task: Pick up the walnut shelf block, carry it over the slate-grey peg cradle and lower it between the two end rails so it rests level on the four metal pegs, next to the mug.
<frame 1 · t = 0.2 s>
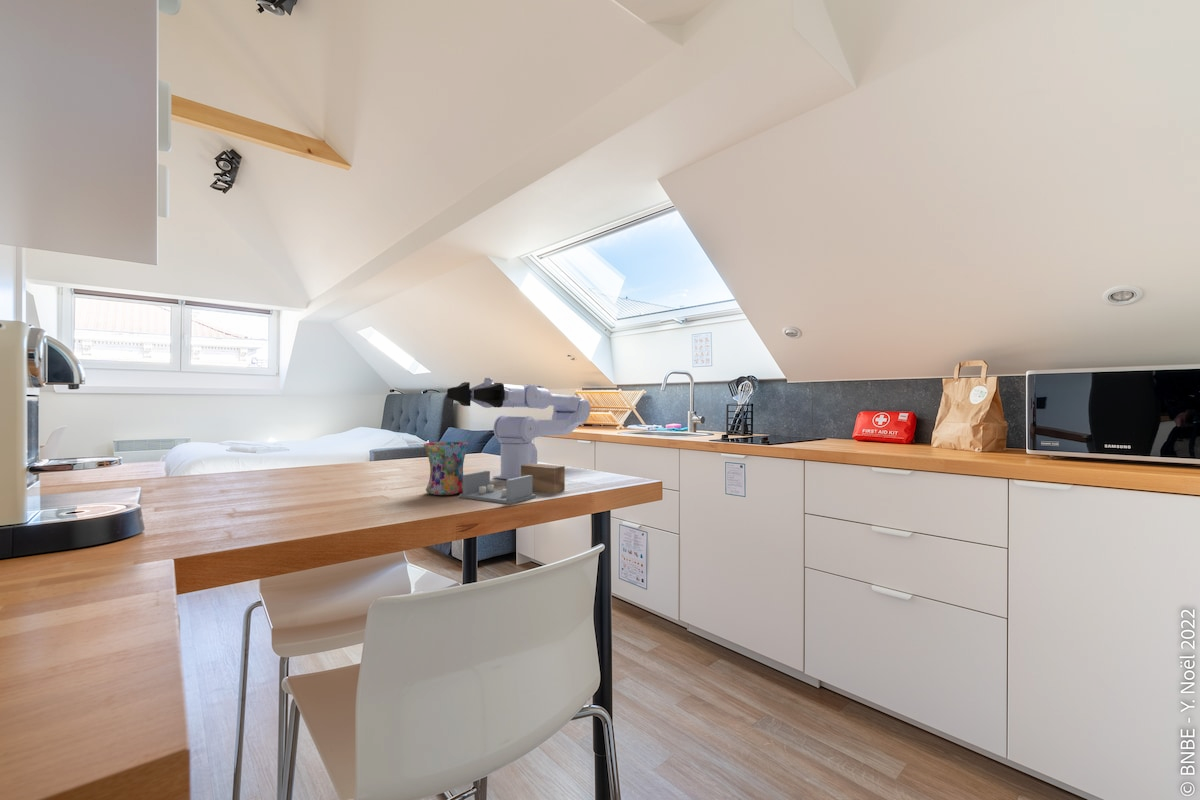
hand: (461, 393, 114), 21 cm above the counter, tool horizontal, fingers open, 7 cm apart
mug: (448, 492, 111), on the counter
shelf block: (542, 490, 114), on the counter
peg cradle: (497, 497, 106), on the counter
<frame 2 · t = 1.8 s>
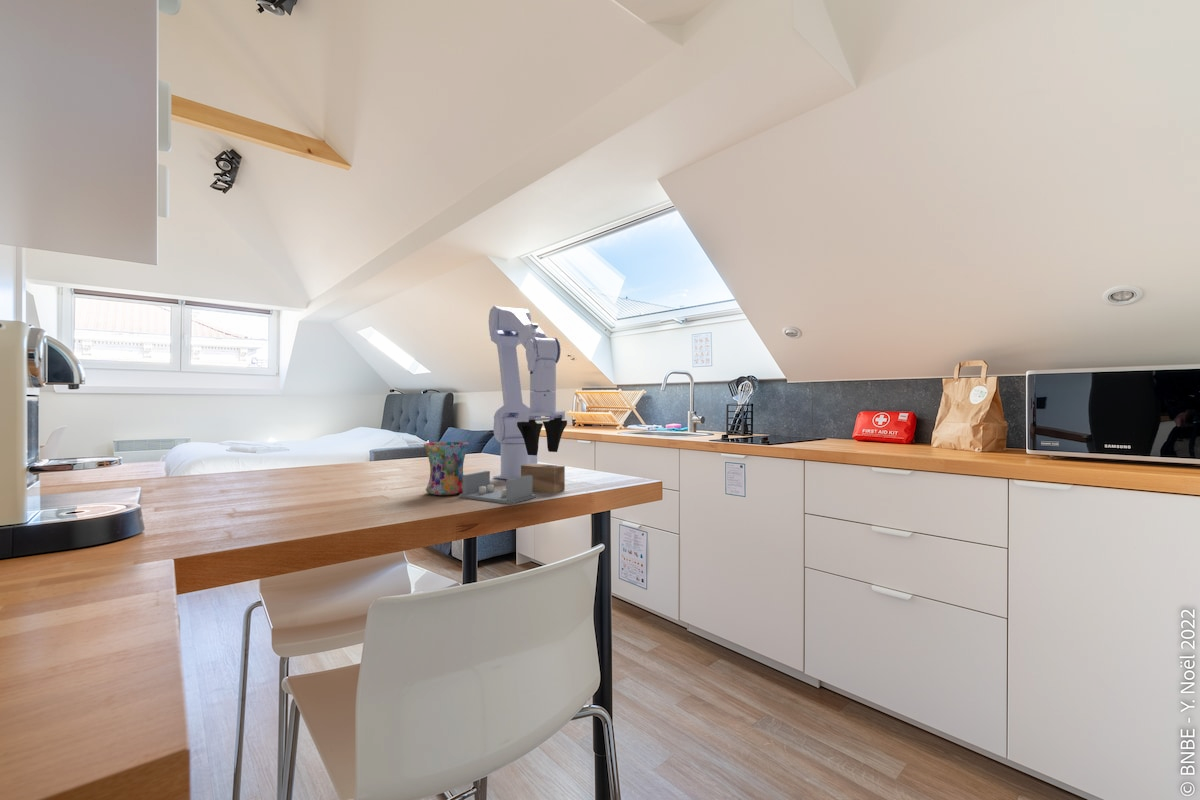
hand: (542, 453, 114), 8 cm above the counter, tool pointing down, fingers open, 7 cm apart
nothing on the counter moved.
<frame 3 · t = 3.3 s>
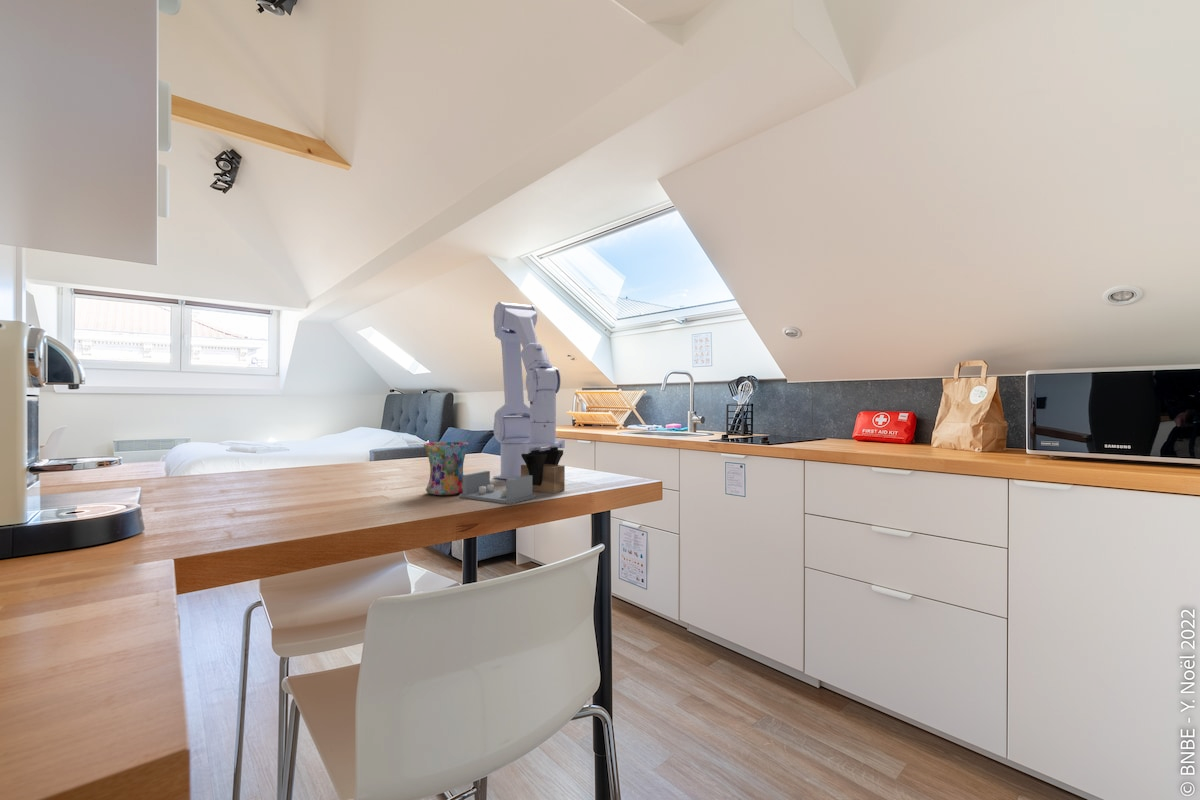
hand: (542, 483, 114), 1 cm above the counter, tool pointing down, fingers closed on shelf block, 4 cm apart
shelf block: (542, 489, 114), on the counter, touching gripper
everything else where it was.
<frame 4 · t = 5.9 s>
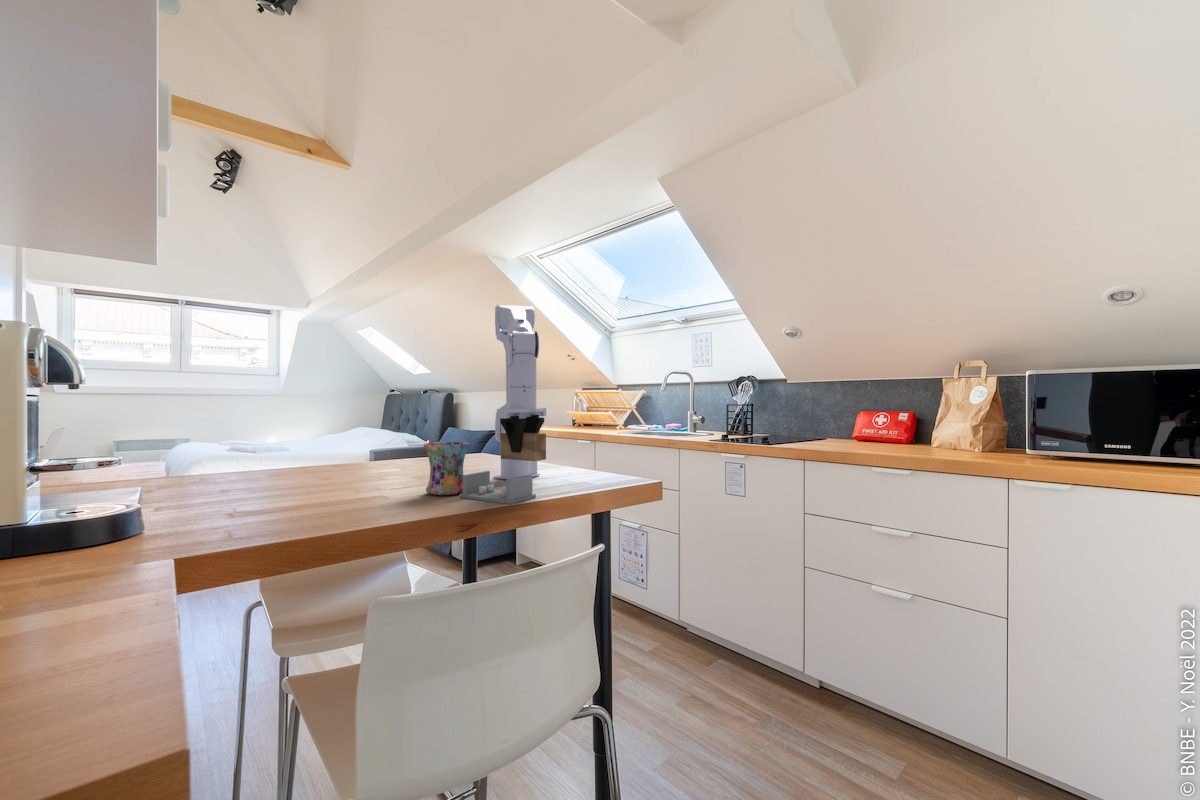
hand: (522, 451, 110), 9 cm above the counter, tool pointing down, fingers closed on shelf block, 4 cm apart
shelf block: (523, 459, 110), point 7 cm above the counter, touching gripper
everything else where it was.
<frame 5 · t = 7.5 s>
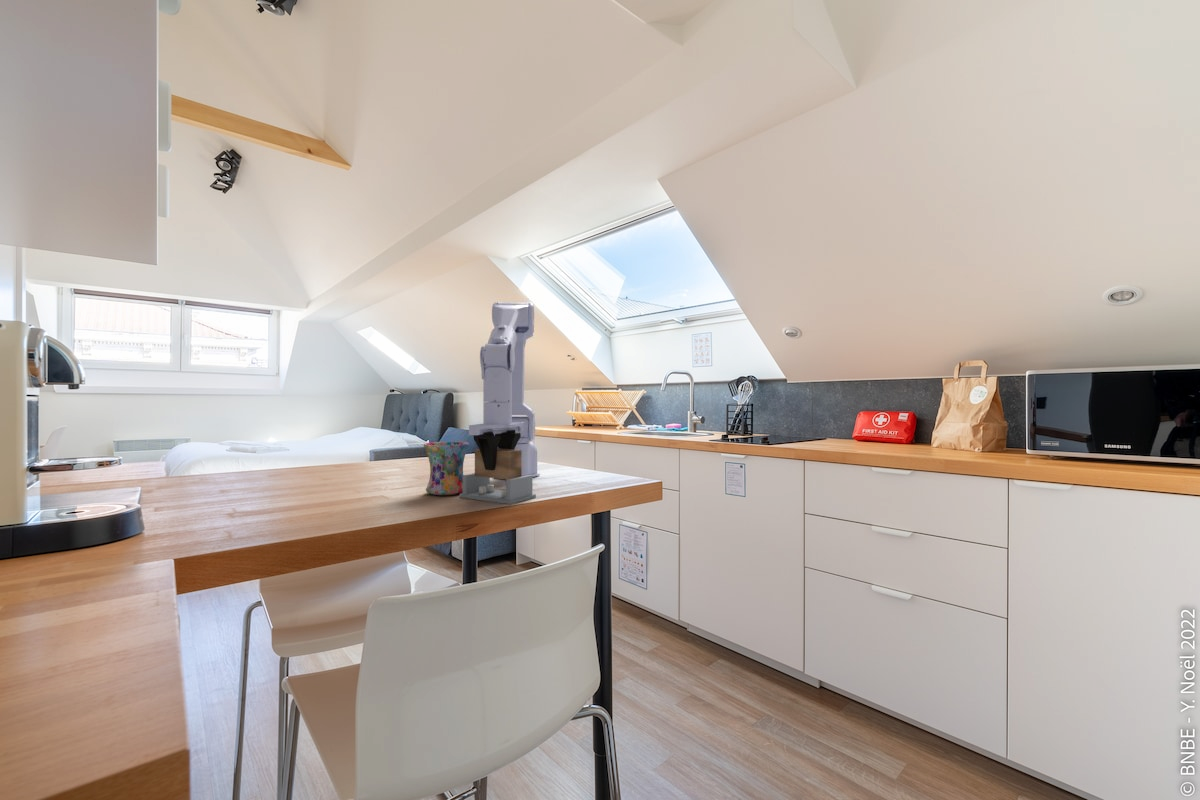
hand: (497, 468, 106), 6 cm above the counter, tool pointing down, fingers closed on shelf block, 4 cm apart
shelf block: (498, 476, 106), point 4 cm above the counter, touching gripper
everything else where it was.
when the fingers open (4 cm above the counter, at t = 8.7 s): shelf block stays where it is, resting on peg cradle.
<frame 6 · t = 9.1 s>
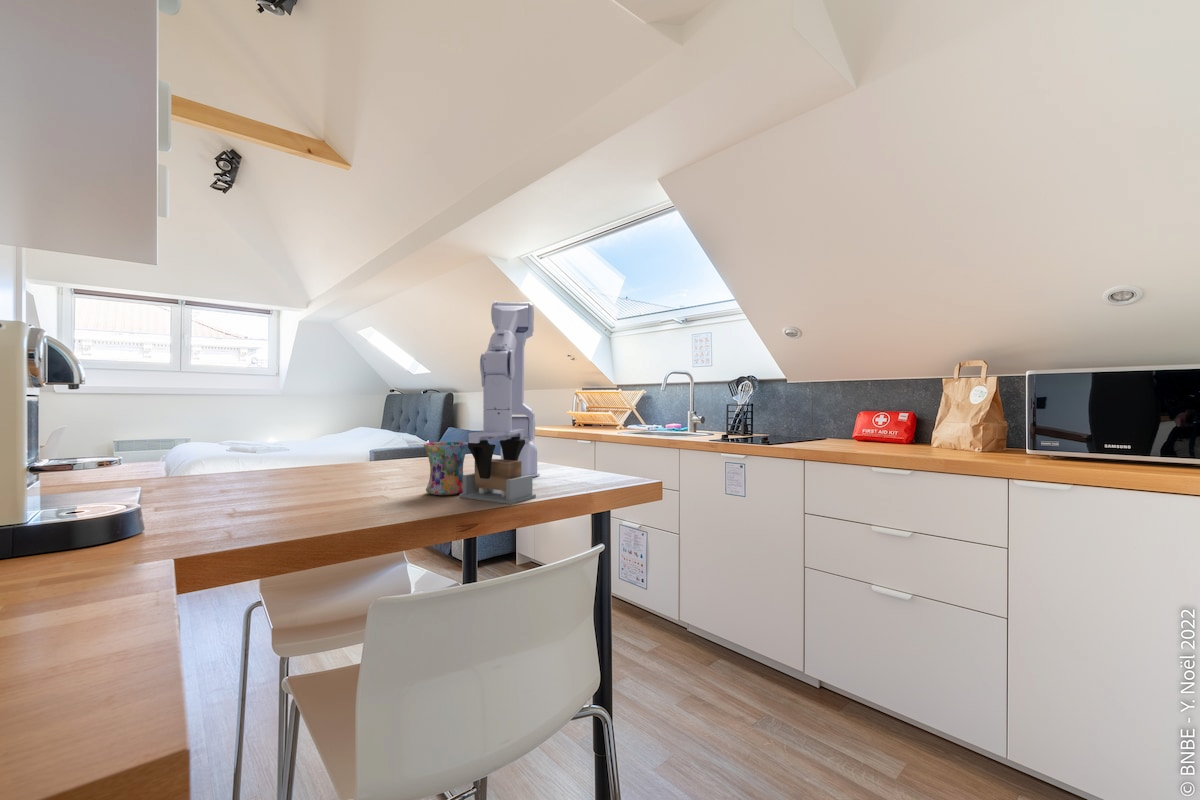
hand: (497, 475, 106), 4 cm above the counter, tool pointing down, fingers open, 7 cm apart
shelf block: (497, 487, 106), point 2 cm above the counter, touching peg cradle
everything else where it was.
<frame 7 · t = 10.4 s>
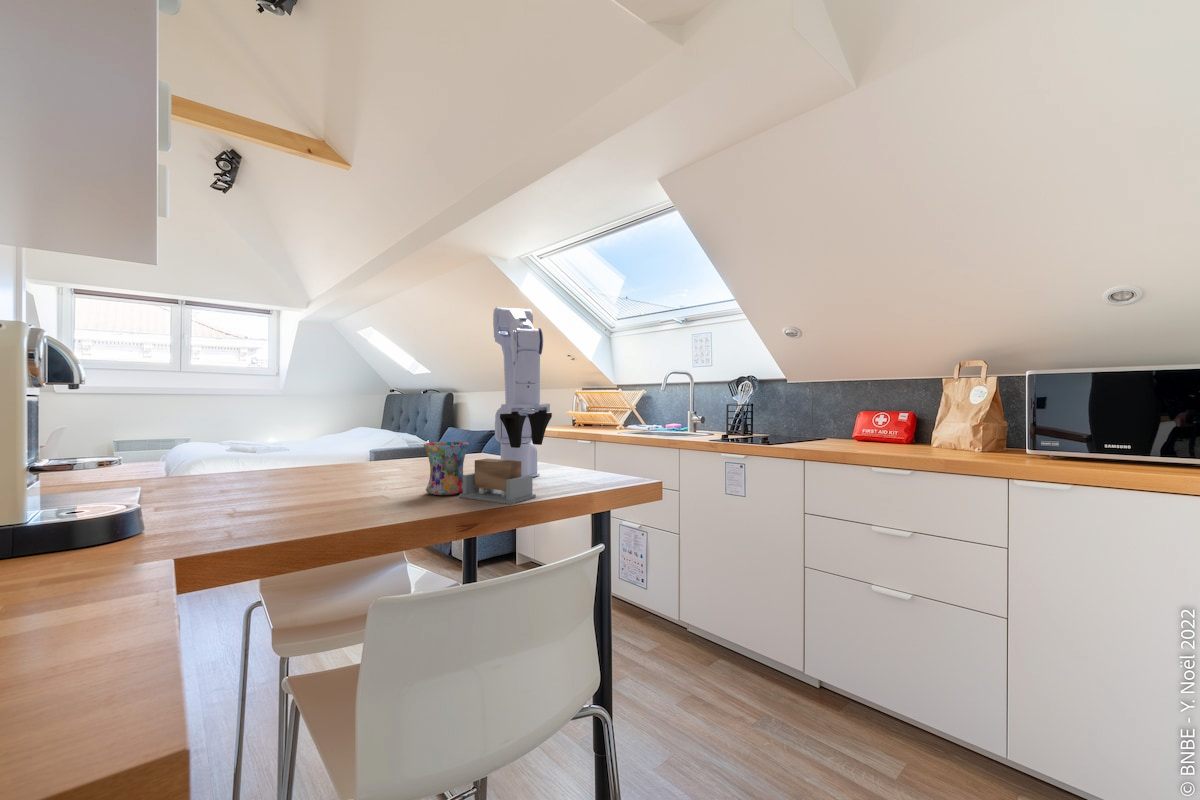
hand: (526, 446, 112), 10 cm above the counter, tool pointing down, fingers open, 7 cm apart
nothing on the counter moved.
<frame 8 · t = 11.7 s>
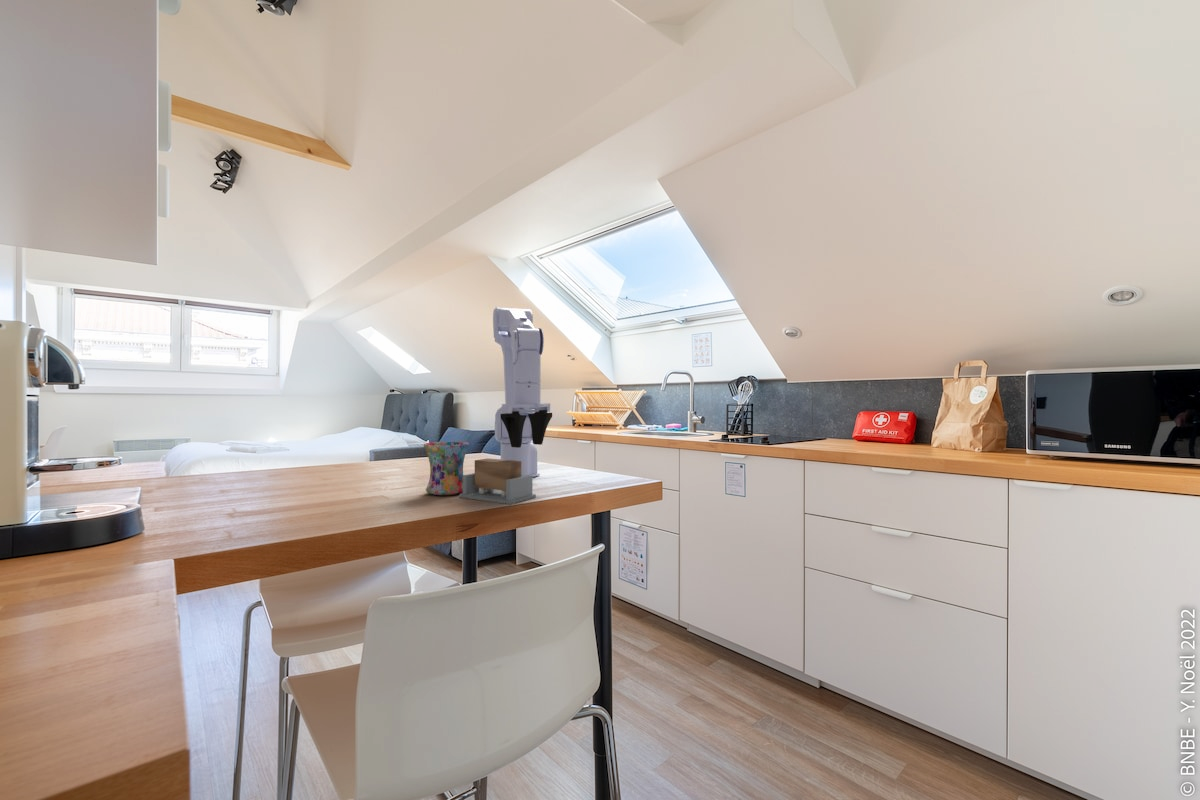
hand: (527, 445, 112), 10 cm above the counter, tool pointing down, fingers open, 7 cm apart
nothing on the counter moved.
at the end: shelf block 0.1 cm off-centre on the peg cradle, point 2.0 cm above the peg cradle's base; shelf block tilted 0°; the gripper is holding nothing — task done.
